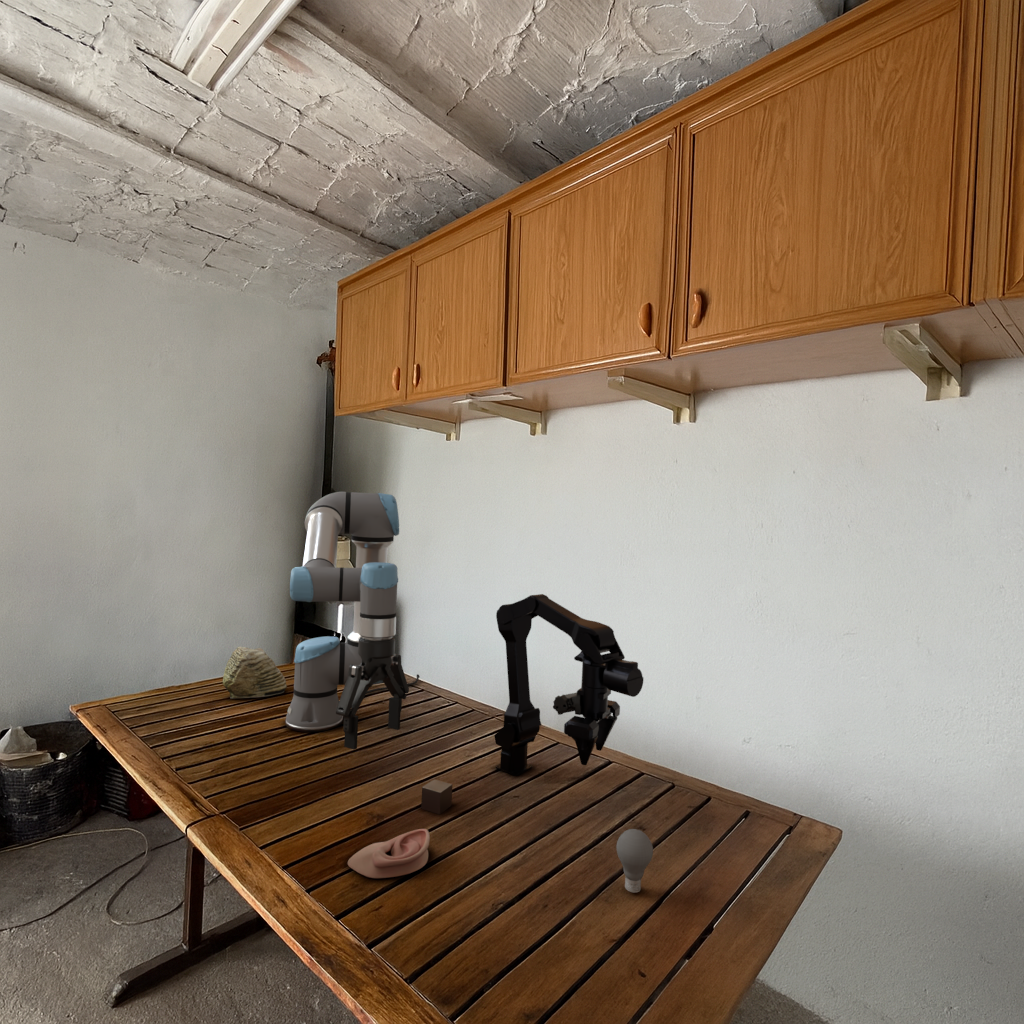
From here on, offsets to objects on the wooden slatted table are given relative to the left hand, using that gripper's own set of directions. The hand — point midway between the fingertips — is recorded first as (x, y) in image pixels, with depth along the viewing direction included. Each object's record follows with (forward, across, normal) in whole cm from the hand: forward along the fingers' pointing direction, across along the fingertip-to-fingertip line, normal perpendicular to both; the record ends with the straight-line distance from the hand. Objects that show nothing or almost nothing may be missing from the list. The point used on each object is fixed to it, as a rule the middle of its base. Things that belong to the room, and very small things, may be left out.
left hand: (373, 737), depth 133 cm
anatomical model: (+14, +15, +18) cm, 27 cm away
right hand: (+3, -24, +40) cm, 47 cm away
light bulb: (+14, 0, +57) cm, 59 cm away
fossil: (+12, -33, -76) cm, 83 cm away
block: (+13, -5, +13) cm, 19 cm away
